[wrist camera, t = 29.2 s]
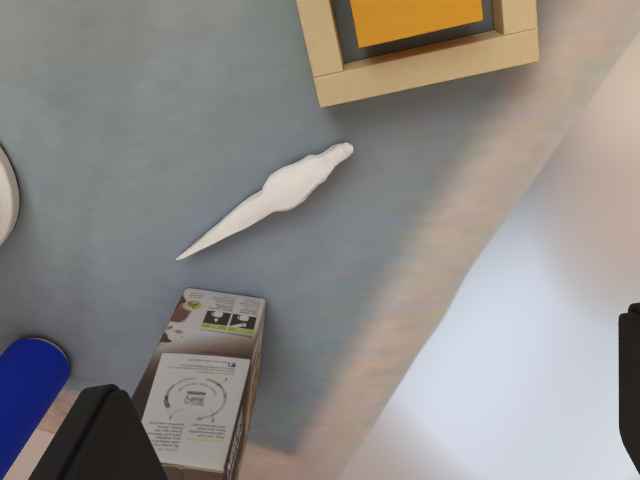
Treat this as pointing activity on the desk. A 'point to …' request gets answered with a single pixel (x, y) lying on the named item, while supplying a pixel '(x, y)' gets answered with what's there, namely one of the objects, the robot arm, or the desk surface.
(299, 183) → the white long pointed piece
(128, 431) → the robot arm
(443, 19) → the small orange block
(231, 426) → the coffee box
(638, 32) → the desk surface
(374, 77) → the socket pad
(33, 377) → the beverage can
